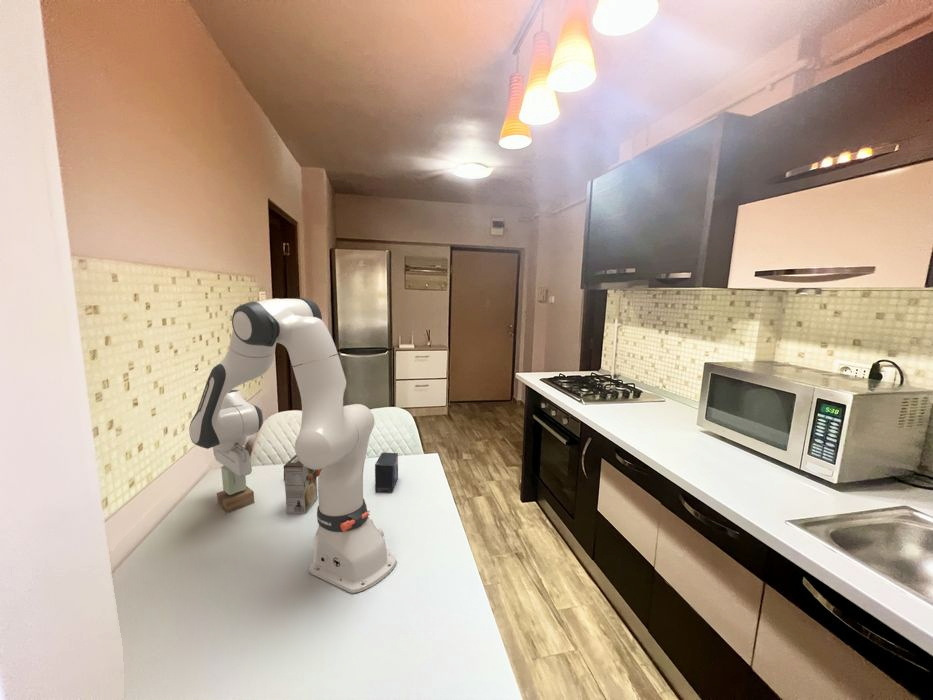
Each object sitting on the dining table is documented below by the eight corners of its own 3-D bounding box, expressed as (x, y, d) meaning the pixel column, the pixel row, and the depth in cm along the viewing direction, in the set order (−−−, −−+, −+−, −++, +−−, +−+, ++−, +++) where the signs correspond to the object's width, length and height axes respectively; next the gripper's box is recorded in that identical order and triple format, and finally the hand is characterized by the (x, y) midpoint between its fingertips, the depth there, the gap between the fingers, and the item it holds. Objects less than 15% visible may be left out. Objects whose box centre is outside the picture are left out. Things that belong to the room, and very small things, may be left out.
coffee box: (299, 498, 128) (296, 453, 126) (318, 498, 128) (315, 453, 126) (286, 513, 119) (282, 465, 117) (306, 514, 119) (303, 465, 117)
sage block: (246, 488, 124) (244, 465, 123) (229, 495, 120) (227, 471, 119) (240, 484, 127) (238, 461, 126) (223, 490, 123) (221, 466, 122)
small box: (393, 493, 132) (392, 465, 130) (374, 493, 132) (373, 464, 130) (399, 478, 142) (398, 452, 141) (381, 478, 142) (381, 451, 141)
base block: (254, 502, 125) (253, 491, 125) (227, 513, 119) (226, 501, 118) (244, 494, 130) (243, 483, 129) (217, 504, 124) (216, 493, 123)
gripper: (255, 445, 117) (258, 486, 119) (228, 429, 130) (232, 468, 132) (233, 451, 112) (237, 495, 114) (207, 435, 125) (211, 474, 127)
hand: (234, 480), depth 123 cm, fingers closed on sage block, 5 cm apart
